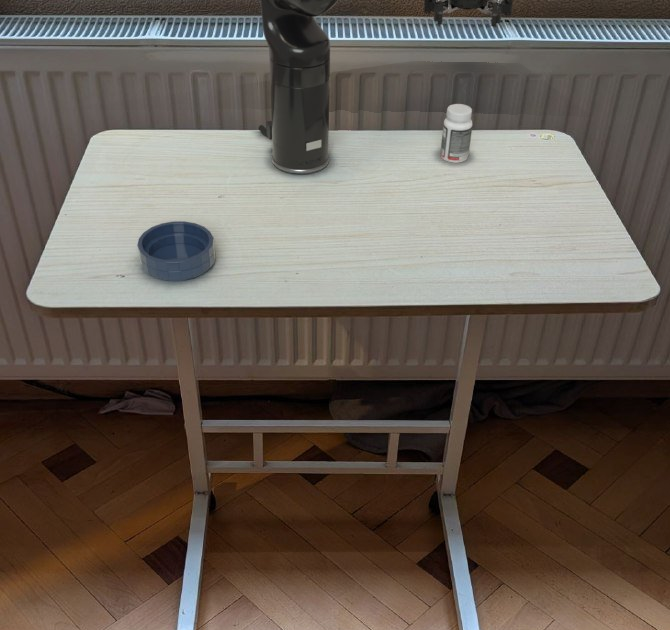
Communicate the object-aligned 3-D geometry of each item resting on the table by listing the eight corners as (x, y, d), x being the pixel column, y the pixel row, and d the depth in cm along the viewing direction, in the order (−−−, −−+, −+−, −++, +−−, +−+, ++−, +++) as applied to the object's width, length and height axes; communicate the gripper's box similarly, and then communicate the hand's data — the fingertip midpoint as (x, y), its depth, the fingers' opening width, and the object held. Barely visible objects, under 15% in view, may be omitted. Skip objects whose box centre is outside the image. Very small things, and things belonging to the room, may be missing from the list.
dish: (134, 250, 118) (130, 228, 115) (204, 237, 121) (202, 215, 118) (150, 290, 111) (146, 268, 109) (223, 275, 114) (222, 253, 112)
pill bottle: (473, 156, 140) (480, 108, 135) (457, 166, 138) (463, 118, 132) (450, 147, 143) (456, 99, 137) (434, 156, 140) (439, 109, 134)
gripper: (429, -48, 140) (423, -6, 129) (514, -47, 138) (515, -4, 128) (426, -3, 146) (421, 41, 135) (509, -1, 144) (509, 44, 134)
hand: (467, 19), depth 132 cm, fingers open, 8 cm apart
